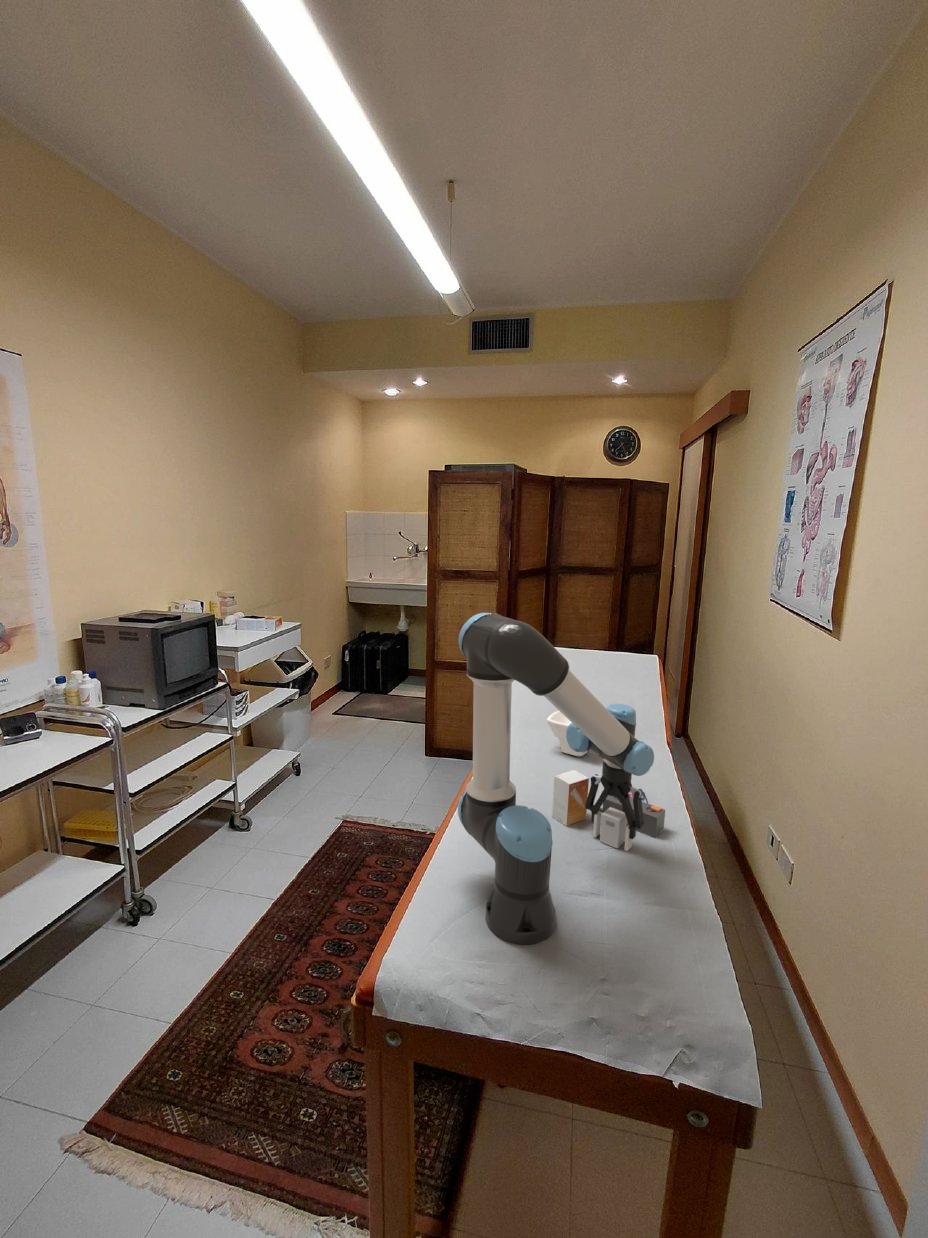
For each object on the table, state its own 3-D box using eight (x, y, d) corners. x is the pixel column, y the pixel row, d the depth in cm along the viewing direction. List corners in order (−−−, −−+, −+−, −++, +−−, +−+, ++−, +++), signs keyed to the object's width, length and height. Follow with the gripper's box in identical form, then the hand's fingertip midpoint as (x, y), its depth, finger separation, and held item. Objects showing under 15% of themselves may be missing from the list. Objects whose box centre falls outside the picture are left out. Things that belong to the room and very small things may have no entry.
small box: (566, 827, 154) (569, 784, 152) (551, 817, 159) (553, 775, 157) (586, 819, 158) (589, 777, 156) (571, 809, 164) (573, 769, 161)
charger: (617, 848, 143) (619, 820, 142) (599, 841, 147) (601, 814, 145) (630, 835, 150) (633, 808, 149) (613, 828, 153) (615, 802, 152)
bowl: (562, 739, 218) (564, 706, 216) (608, 751, 207) (611, 716, 205) (540, 754, 203) (542, 718, 201) (589, 768, 192) (591, 731, 190)
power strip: (655, 838, 149) (657, 816, 148) (577, 807, 165) (579, 787, 164) (663, 829, 154) (665, 807, 153) (587, 800, 169) (588, 780, 168)
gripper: (662, 770, 139) (655, 851, 143) (587, 747, 152) (583, 821, 156) (651, 780, 133) (644, 864, 137) (574, 755, 147) (570, 832, 150)
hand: (611, 841), depth 147 cm, fingers open, 8 cm apart
